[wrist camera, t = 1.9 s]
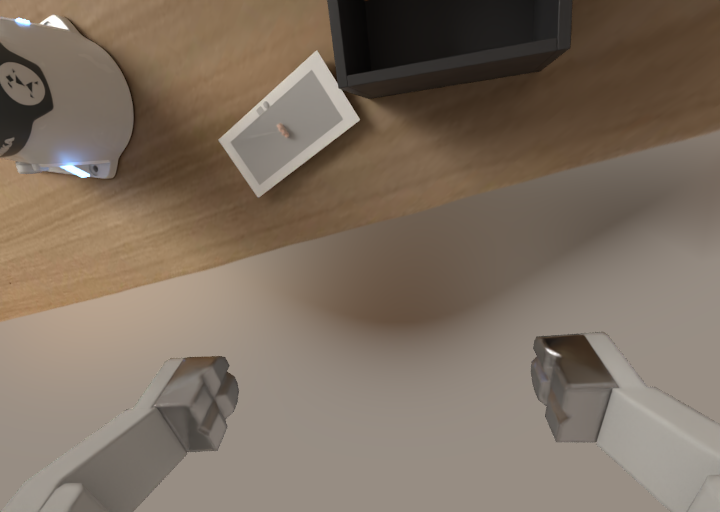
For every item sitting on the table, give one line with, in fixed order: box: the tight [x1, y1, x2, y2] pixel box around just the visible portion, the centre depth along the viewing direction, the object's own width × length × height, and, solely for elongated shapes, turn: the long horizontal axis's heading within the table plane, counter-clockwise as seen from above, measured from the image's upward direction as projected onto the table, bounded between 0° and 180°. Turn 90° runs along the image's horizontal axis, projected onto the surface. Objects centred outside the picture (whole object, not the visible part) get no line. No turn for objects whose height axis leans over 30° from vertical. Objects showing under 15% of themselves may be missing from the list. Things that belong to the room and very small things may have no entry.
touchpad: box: [219, 50, 360, 198], centre depth 39 cm, size 8×15×2 cm, turn 125°
